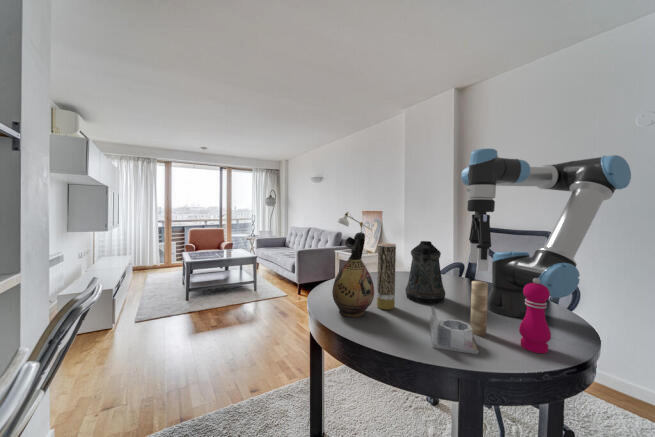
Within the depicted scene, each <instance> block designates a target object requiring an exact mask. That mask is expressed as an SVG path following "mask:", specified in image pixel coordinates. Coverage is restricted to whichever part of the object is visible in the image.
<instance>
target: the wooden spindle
mask: <svg viewBox="0 0 655 437" xmlns="http://www.w3.org/2000/svg"><path fill="white" fill-rule="evenodd" d="M488 289H489V283H488V282H486V281H481V280H472V281H471V289H470V290H471V292H470V293H471V294H470V297H471V298H470V320H469V321H470V323H469V324H470V325H471V327H472V329H473V333H472V335H475V336H479V337H485V336H487V324H488V323H487V322H488V320H487V319H488V308H487V299H488V296H489V295H488V293H489V290H488Z"/></svg>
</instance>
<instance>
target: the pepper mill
mask: <svg viewBox="0 0 655 437" xmlns="http://www.w3.org/2000/svg"><path fill="white" fill-rule="evenodd" d="M540 282H541V281H540V279H538V278H534V279H533V283H529V284H527V285H525V287H524V289H523V294H524V295H525V297H526V298H527V299H525V304H526V305H527V310H526V315H525V317H523V319H522V321H521V322H520V325H519V329H518V330H519V331H518V332H519V334H520V335H521V338H520V346H521V348H523V349H525V350H526V351H528V352H532V353H535V354H547V353H548V351H549V344H548V342H550V341H551V338H552V334H551V330H550V327H549V325H548V323H547V322H548V321H547V319H546V313H545V312H546V309H547V308H548V307H547V306H548V303H547V301H549V298H550V297H551V296H550V292H549V290H548V288H547V287H545V286H544V285H542V284H540Z"/></svg>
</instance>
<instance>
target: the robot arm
mask: <svg viewBox="0 0 655 437" xmlns="http://www.w3.org/2000/svg"><path fill="white" fill-rule="evenodd" d="M460 178H461V182H462V183H463V185H465V186H468V188H466V190H465V191H466V192H467V198H469V199H468V200H467V208H466V209H467V211H468V212H473V214H472V215H471V223H470V231H469V238H468V241H469V243H470V244H469V260H468V262H469V263H471V264H476V265H477V266H476V271H482V272H488V271H489V258H490V257H489V256H490V252H489V251H490V248H491V247H492V238H491V223H490V222H491V221H490V219H491V216H490V214H487V213H494V212H495V208H496V206H495V205H496V201H495V200H494V199H495V198H496V191H497V189H496V188H497V186H498V187H499V186H502V187H503V186H504V187H506V186H507V187H537V188H538V189H541V190H551V191H559V192H560V191H561V192H571V194H570V196H569V199H568V201H567V202H566V204H565V205H564V208H563V210H562V212H561V213H560V215H559V217H558V219H557V221H556V223H555V225H554V227H553V229H552V230H551V232H550V234H549V237H548V238H547V240H546V242H545V243H544V246H543V247H542V248H537V249H536V250H535V252H534V253H533V255H532V256H530V253H529V252H528V251H496V252H494V253H493V255H492V261H491V263H492V265H491V266H492V269H491V273H492V274H491V290H490V291H489V295H488V297H487V310H489V311H491V312H493V313H496V314H499V315H502V316H507V317H513V318H524V317H525V315H526V310H527V305H526V304H525V299H527V298H526V297H525V295H524V294H523V289H524V287H525V285H527V284H529V283H533V279H534V278H538V279H540V281H541V282H540V284H542V285H544V286H545V287H547V288H548V290H549V292H550V297H551V298H557V299H559V298H560V299H561V298H565V297H568V296H570V295H571V294H572V293H573V292H575V290H577V288H578V285H579V284H580V280H581V279H580V278H579V277H580V271H579V269H578V268H577V265H578V264H577V263H576V260H575V259H574V258H575V256H576V254H577V253H578V250H579V248H580V246H581V244H582V243H583V240H584V239H585V237H586V235H587V233H588V231H589V229H590V227H591V225H592V223H593V221H594V219H595V217H596V215H597V213H598V211H599V209H600V207H601V205H602V204H603V201H606V200H610V199H611V198H612V197H613V194H614V193H615V191H616V190H623V189H625V188H627V187H628V186H629V185H630V183H631V179H632V173H631V168H630V165H629V163H628V161H627V160H626V159H625V158H624V157H622V156H620V155H617V154H615V155H614V154H612V155H602V156H599V157H591V158H585V159H578V160H570V161H566V162H561V163H560V162H559V163H555V164H543V165H541V166H531V165H530V164H529V163H528V162H527V161H526V160H522V159H518V158H505V157H499V156H498V150H497V149H495V148H479V149H475V150H472V152H470V155H469V163H468V166H467V167H465V168H464V169H463V170H462V171H461V174H460Z"/></svg>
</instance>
